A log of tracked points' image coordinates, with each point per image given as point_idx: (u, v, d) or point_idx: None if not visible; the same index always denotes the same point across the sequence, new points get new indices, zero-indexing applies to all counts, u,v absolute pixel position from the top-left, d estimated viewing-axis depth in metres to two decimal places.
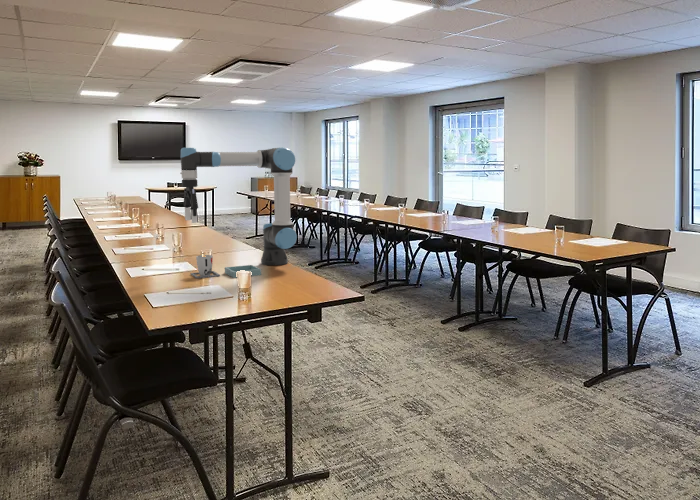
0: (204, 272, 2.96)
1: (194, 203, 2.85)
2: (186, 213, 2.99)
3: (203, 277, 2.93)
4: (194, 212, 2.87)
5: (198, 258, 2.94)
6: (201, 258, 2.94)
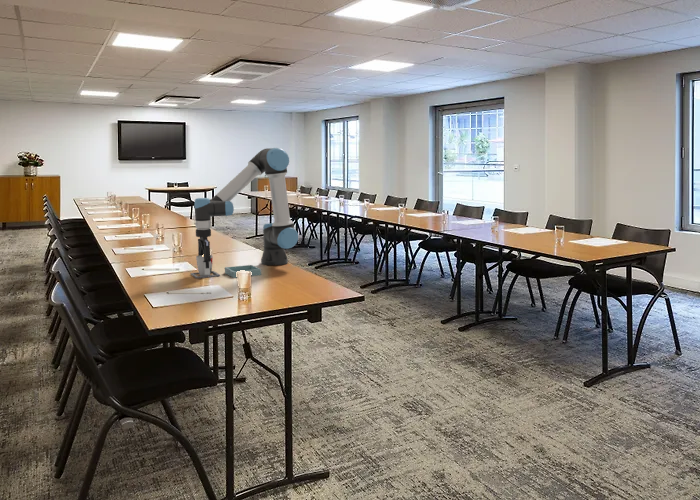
0: None
1: (207, 256, 2.91)
2: None
3: (203, 277, 2.93)
4: (207, 265, 2.93)
5: (198, 258, 2.94)
6: (201, 258, 2.94)
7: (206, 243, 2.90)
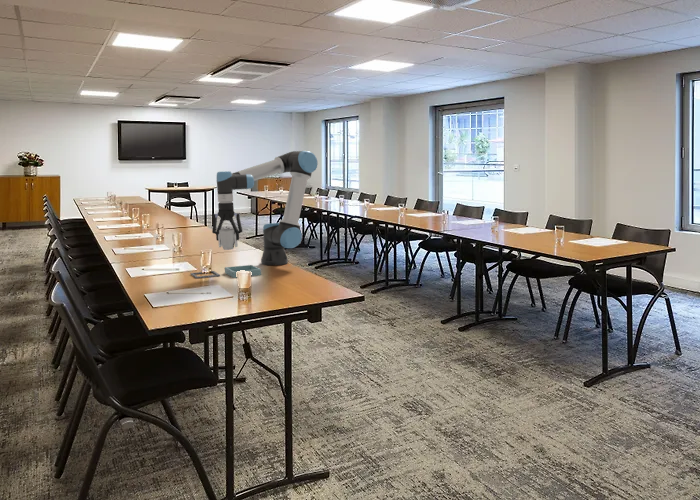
0: (233, 245, 2.98)
1: (241, 228, 2.97)
2: None
3: (203, 277, 2.93)
4: (238, 236, 2.98)
5: (229, 231, 2.94)
6: (232, 231, 2.95)
7: (239, 215, 2.96)
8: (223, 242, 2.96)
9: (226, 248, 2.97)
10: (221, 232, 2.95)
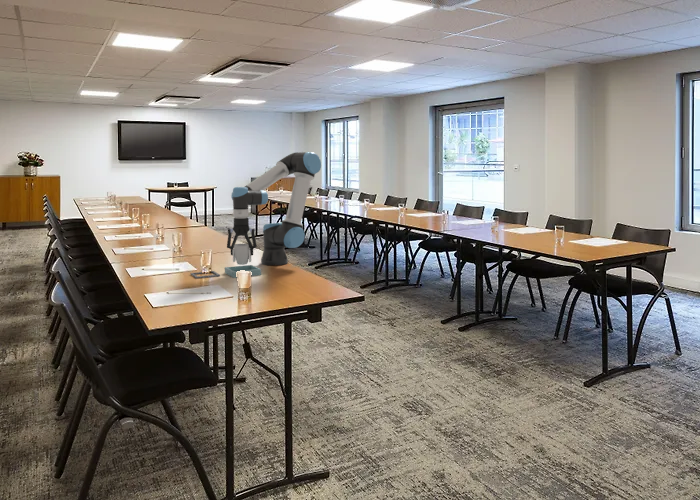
0: (247, 260, 3.00)
1: (255, 243, 2.99)
2: (234, 254, 3.00)
3: (203, 277, 2.93)
4: (252, 251, 3.00)
5: (243, 246, 2.96)
6: (247, 246, 2.98)
7: (254, 230, 2.98)
8: (237, 257, 2.98)
9: (240, 263, 2.99)
10: (236, 247, 2.97)
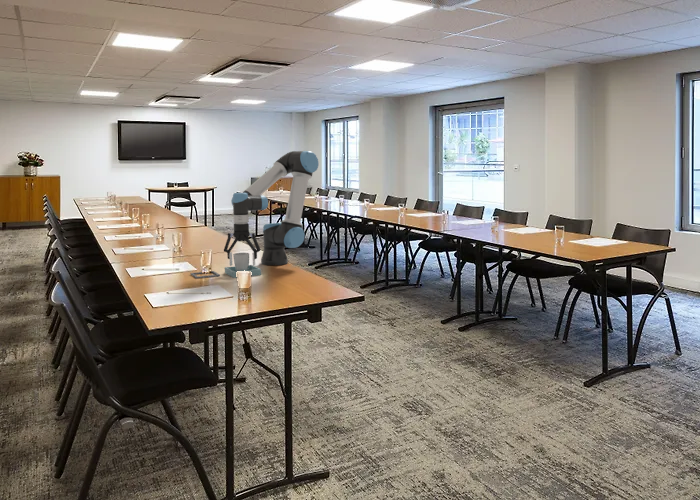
0: (247, 269, 3.01)
1: (258, 246, 3.00)
2: (231, 258, 3.00)
3: (203, 277, 2.93)
4: (256, 255, 3.00)
5: (243, 256, 2.97)
6: (246, 255, 2.98)
7: (254, 234, 2.99)
8: (237, 266, 2.99)
9: None
10: (235, 256, 2.98)
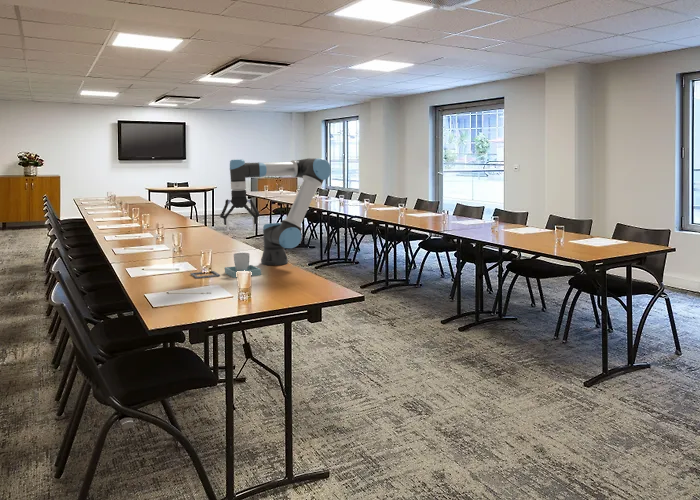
0: (247, 269, 3.01)
1: (257, 211, 3.02)
2: (227, 224, 3.02)
3: (203, 277, 2.93)
4: (256, 220, 3.03)
5: (243, 256, 2.97)
6: (246, 255, 2.98)
7: (252, 200, 3.01)
8: (237, 266, 2.99)
9: None
10: (236, 256, 2.98)
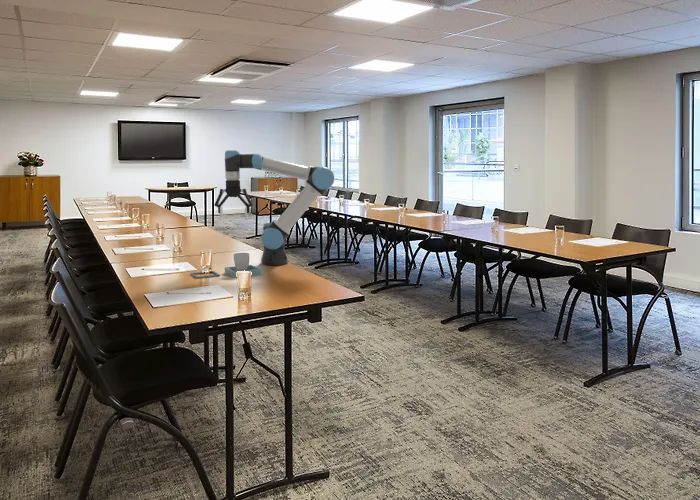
0: (247, 269, 3.01)
1: (250, 201, 3.13)
2: (221, 212, 3.14)
3: (203, 277, 2.93)
4: (249, 209, 3.14)
5: (243, 256, 2.97)
6: (246, 255, 2.98)
7: (245, 190, 3.12)
8: (237, 266, 2.99)
9: None
10: (236, 256, 2.98)
